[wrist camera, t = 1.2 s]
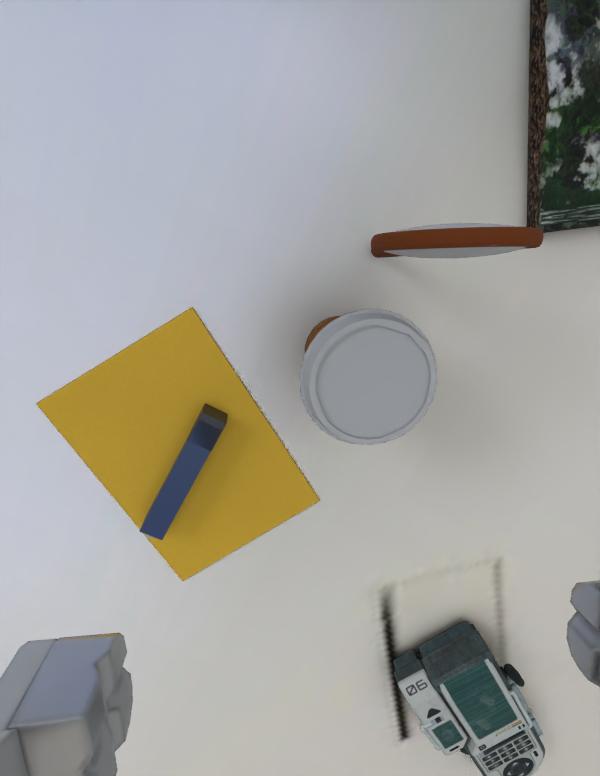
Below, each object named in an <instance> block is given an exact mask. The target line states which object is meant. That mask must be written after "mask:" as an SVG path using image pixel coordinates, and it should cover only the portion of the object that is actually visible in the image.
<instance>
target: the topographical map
mask: <svg viewBox="0 0 600 776" xmlns="http://www.w3.org/2000/svg"><path fill="white" fill-rule="evenodd" d="M593 226H600V0H531V8H530V73H529V139H528V204H527V227H534V228H539V229H541V230H542V232H543V233H545V232H553V231H561V230H569V229H577V228H585V227H593Z"/></svg>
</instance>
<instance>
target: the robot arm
mask: <svg viewBox="0 0 600 776" xmlns="http://www.w3.org/2000/svg"><path fill="white" fill-rule="evenodd" d="M570 602H571V604H572V605H573V606H574V608H575V609H576V611H577V612H576V613H575V614H574V615H573V617H572V618H571V619H570V620H569V622H568V626H567V641H568V645H569V649H570V652H571V655H572V657H573V659H574V661H575V663H576V664H577V666H578V668H579V669H580V670H581V672H582V673H583V674H584V675H585V677H586V678H587V679H588V680H589V681H591V682H592V683H594V684H596V685H598V686H599V687H600V580H598V581H589V582H581V583H576V585H575V586H574V588H573V589H572V593H571V600H570ZM126 653H127V650H126V645H125V640H124V636H123V635H122V634H120V633H111V634H99V635H87V636H75V637H64V638H59V639H47V640H35V641H28V642H27V643H25V644H24V645H23V646H21V647H20V648H19V650H18V651H17V653H16V655H15V656H14V658H13V659H12V661H11V662H10V664H9V666H8V667H7V669H6V670H5V672H4V674H3V675H2V677H1V678H0V776H116V773H117V764H116V758H115V751H116V750H117V749H118V748H119V747H120V746H121V745H122V744H123V742H124V741H125V740H126V736H127V732H128V728H129V724H130V719H131V710H132V702H133V697H132V681H131V674H130V673H129V672H128V671H127V670H126V669H125V668H123V667H122V666H123V663H124V660H125V657H126Z"/></svg>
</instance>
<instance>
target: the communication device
mask: <svg viewBox="0 0 600 776" xmlns="http://www.w3.org/2000/svg"><path fill="white" fill-rule="evenodd" d="M419 649H420V655H419V654H417V653H415V652H414V651H409V652H407V653H405V654H403V655H401V656H400V657H398V658H396V659H395V660H394V661H393V662H394V665H395V667H394V669H395V673H394V675H395V677H396V680H397V683H398V686H399V688H400V690H401V691H402V693H403V695H404V696H405V698H406V700H407V701H408V703H409V705H410V707H411V708H412V709H413V711H414V712H415V714H416V715H417V716H418V718H419V719H420V721H421V722H422V724H421V725H420V729H421V730H422V732H424V733H425V734H426V735H427V737H428V738H429V740H430V741H431V742H432V744H433V745H434V746H435V748H436V749H437V750H442V751H443V753H444V754H445V755H447V756H448V755H450V754H452V753H454V752H456V751H458V750H461V752H463V753H465V754H467V755H468V754H469V755H470V757H471V758H472V760H473V761H474V763H475V764H476V766H477V767H478V768H479V770H480V771H481V773H482V774H483V776H532V775H533V774H534V773H535V772H536V771H537V770H538V769H539V767H540V766H541V763H542V761H543V758H544V755H545V749H544V746H543V744H542V742H541V740H540V738H539V737H538V736H540V735H542V734H543V733H542V731H541V729H540V727H539V725H538V724H537V722H536V720H535V719H534V717H533V715H532V713H531V711H530V709H529V707H528V706H527V704H526V702H525V700H524V698H523V697H522V695H521V693H520V691H519V689H518V688H517V686H516V684H518V685H519V686H524V681H523V679H522V678H521V676H520V674H519V673H518V671H517V670H516V669H515V668H514V667H513V666H512V665H510V664H505V665H504V669H503V668H502V667H499V666H498V664H497V662H496V660H495V658H494V656H493V654H492V653H491V651H490V649H489V648H488V646H487V645H486V643H485V641H484V640H483V638H482V637H481V635H480V633H479V632H478V631H477V630H476V628H475V627H474V625H473V624H470V623H469V622H468V621H463V622H461V623H460V624H458V625H456V626H454V627H452V628H450V629H449V630H447V631H445V632H443V633H441V634H440V635H438V636H436V637H434V638H432V639H430V640H429V641H427V642H425V643H423V644H421V645H420V647H419ZM420 656H421V657H420ZM507 675H508V676H509V678H508V676H507ZM507 678H508V679H507ZM507 681H508V682H507ZM514 682H515V683H516V684H515V683H514ZM529 712H530V713H529ZM527 713H528V714H527ZM537 734H538V735H537Z"/></svg>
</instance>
